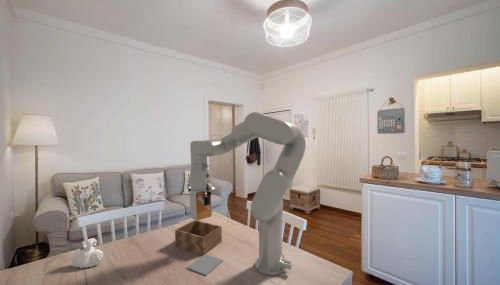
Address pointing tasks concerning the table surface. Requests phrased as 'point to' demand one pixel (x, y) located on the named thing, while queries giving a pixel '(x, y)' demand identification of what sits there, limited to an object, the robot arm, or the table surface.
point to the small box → (199, 206)
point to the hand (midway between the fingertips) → (200, 203)
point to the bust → (87, 255)
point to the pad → (205, 264)
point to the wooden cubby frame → (198, 236)
